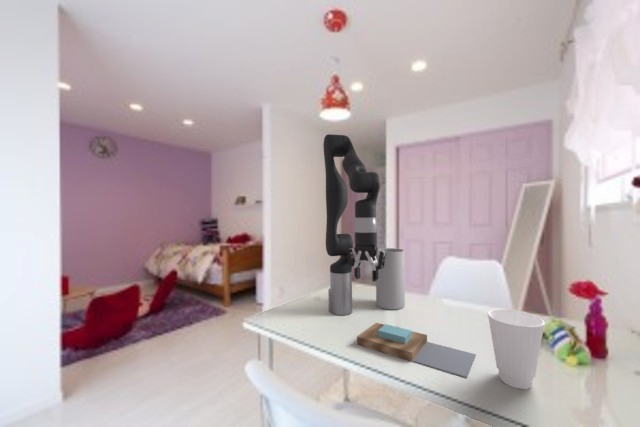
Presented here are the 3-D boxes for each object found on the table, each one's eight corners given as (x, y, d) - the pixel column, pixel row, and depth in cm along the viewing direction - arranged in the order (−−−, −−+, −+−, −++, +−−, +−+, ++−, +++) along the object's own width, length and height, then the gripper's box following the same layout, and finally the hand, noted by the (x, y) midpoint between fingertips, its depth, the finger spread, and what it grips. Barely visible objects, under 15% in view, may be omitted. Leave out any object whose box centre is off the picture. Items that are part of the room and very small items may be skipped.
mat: (412, 361, 81) (412, 360, 81) (427, 342, 92) (427, 341, 92) (466, 378, 73) (466, 377, 73) (475, 355, 84) (475, 354, 84)
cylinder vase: (372, 307, 126) (371, 251, 126) (381, 299, 137) (381, 247, 137) (400, 312, 120) (399, 253, 120) (408, 303, 130) (407, 249, 130)
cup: (497, 362, 80) (496, 305, 80) (550, 381, 71) (550, 317, 71) (480, 379, 72) (480, 316, 72) (538, 402, 63) (538, 331, 63)
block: (357, 344, 92) (356, 336, 92) (376, 329, 103) (376, 322, 103) (412, 361, 81) (412, 352, 81) (427, 342, 92) (427, 334, 92)
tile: (378, 336, 92) (377, 330, 92) (385, 330, 97) (385, 324, 97) (405, 344, 87) (405, 337, 87) (412, 336, 91) (412, 330, 91)
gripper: (341, 230, 98) (342, 279, 99) (380, 232, 90) (381, 285, 90) (352, 229, 105) (353, 275, 105) (390, 230, 96) (390, 280, 96)
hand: (366, 279), depth 97 cm, fingers open, 5 cm apart
